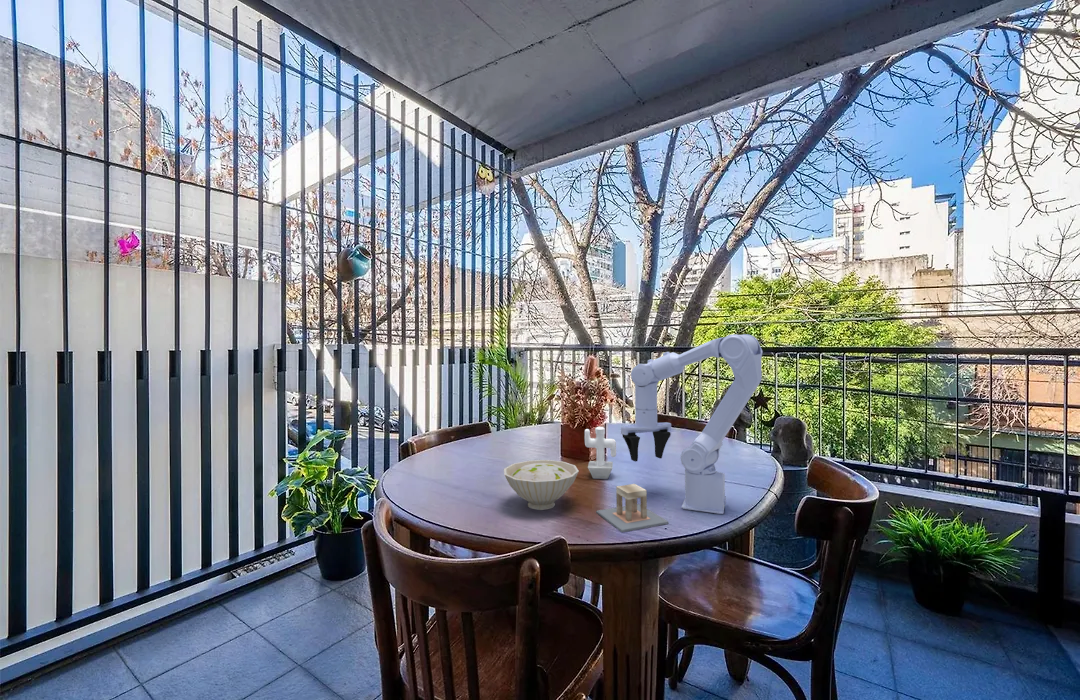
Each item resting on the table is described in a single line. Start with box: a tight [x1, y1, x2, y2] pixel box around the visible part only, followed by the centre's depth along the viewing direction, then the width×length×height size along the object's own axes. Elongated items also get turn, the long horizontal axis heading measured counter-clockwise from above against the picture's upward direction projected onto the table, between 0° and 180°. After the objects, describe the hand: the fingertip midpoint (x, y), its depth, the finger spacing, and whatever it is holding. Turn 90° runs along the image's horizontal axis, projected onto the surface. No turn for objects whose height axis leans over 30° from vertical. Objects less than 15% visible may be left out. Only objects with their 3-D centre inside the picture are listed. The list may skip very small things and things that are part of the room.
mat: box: [596, 503, 669, 533], centre depth 107 cm, size 12×12×1 cm
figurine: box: [584, 426, 617, 480], centre depth 139 cm, size 7×9×15 cm
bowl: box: [503, 459, 579, 511], centre depth 116 cm, size 19×19×10 cm
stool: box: [615, 483, 648, 521], centre depth 107 cm, size 5×5×6 cm
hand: (646, 459), depth 123 cm, fingers open, 7 cm apart
